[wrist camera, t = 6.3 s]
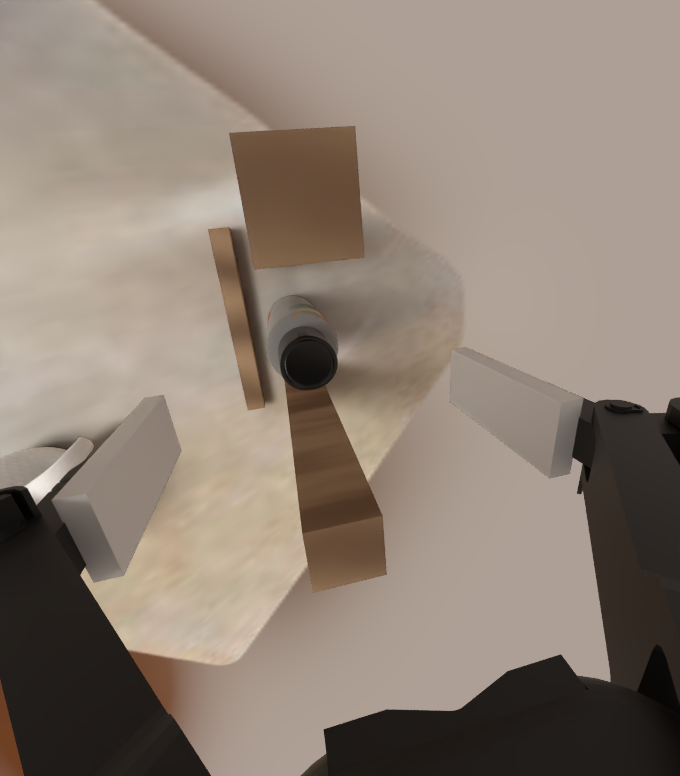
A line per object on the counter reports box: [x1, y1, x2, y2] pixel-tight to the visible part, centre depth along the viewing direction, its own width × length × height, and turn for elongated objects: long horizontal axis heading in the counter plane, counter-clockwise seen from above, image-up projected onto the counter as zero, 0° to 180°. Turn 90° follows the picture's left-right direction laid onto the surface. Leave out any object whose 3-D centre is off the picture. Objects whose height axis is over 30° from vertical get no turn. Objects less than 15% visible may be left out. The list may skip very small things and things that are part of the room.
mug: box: [0, 437, 94, 505], centre depth 35 cm, size 15×11×13 cm
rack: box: [208, 126, 387, 593], centre depth 27 cm, size 20×9×28 cm, turn 6°
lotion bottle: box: [266, 296, 338, 390], centre depth 31 cm, size 6×6×20 cm
